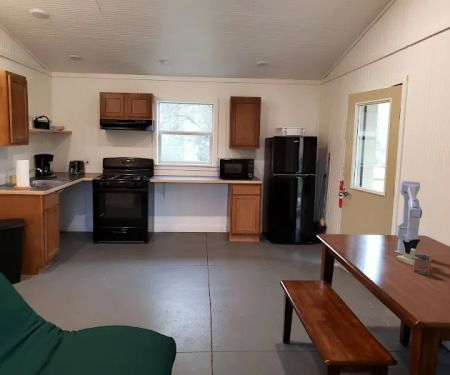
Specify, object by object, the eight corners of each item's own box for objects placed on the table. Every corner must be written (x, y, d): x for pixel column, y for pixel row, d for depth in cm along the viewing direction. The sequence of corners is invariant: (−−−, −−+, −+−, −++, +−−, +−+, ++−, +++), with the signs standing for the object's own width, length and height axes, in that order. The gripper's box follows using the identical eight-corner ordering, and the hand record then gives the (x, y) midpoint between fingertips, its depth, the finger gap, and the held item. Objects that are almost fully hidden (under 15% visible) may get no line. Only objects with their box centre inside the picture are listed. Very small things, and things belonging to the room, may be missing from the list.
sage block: (406, 255, 223) (407, 247, 222) (414, 257, 220) (415, 249, 219) (403, 257, 220) (404, 248, 219) (411, 259, 217) (412, 250, 216)
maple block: (405, 258, 227) (405, 253, 227) (422, 263, 219) (422, 258, 219) (395, 261, 221) (396, 256, 221) (412, 266, 213) (413, 261, 213)
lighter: (429, 272, 202) (431, 254, 201) (430, 275, 199) (432, 256, 198) (412, 270, 205) (414, 252, 203) (413, 272, 202) (415, 253, 200)
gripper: (410, 225, 225) (407, 248, 227) (400, 229, 215) (397, 252, 217) (423, 228, 221) (420, 251, 222) (413, 231, 210) (410, 256, 212)
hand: (410, 252), depth 219 cm, fingers open, 7 cm apart
